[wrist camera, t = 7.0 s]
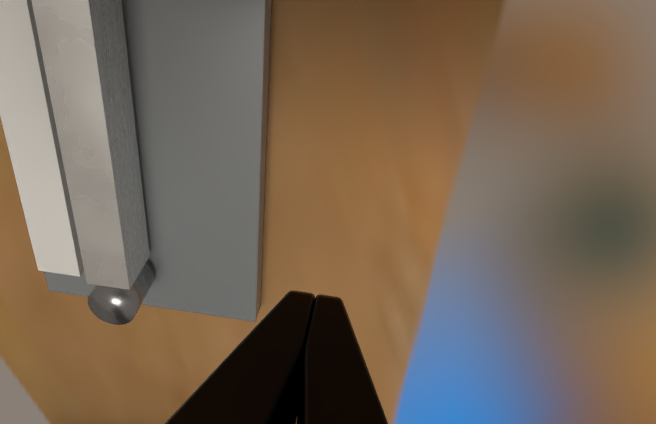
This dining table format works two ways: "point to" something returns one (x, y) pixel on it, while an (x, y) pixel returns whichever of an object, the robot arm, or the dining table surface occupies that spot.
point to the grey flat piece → (160, 149)
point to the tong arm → (98, 147)
